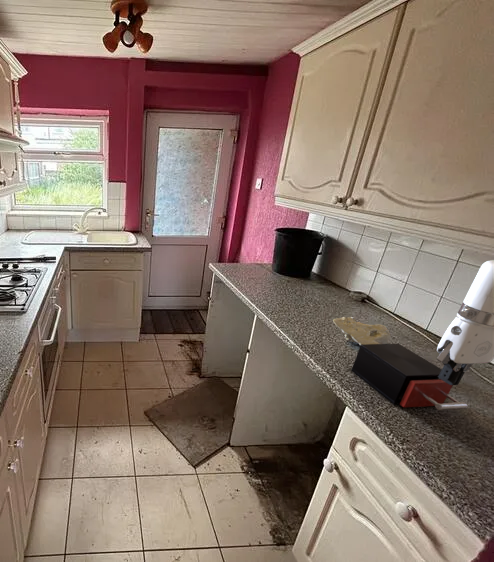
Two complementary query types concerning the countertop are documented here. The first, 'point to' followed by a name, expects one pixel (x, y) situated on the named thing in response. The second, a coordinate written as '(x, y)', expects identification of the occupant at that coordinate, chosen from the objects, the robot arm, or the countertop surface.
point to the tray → (429, 394)
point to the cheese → (362, 331)
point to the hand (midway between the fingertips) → (447, 381)
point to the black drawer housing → (390, 368)
